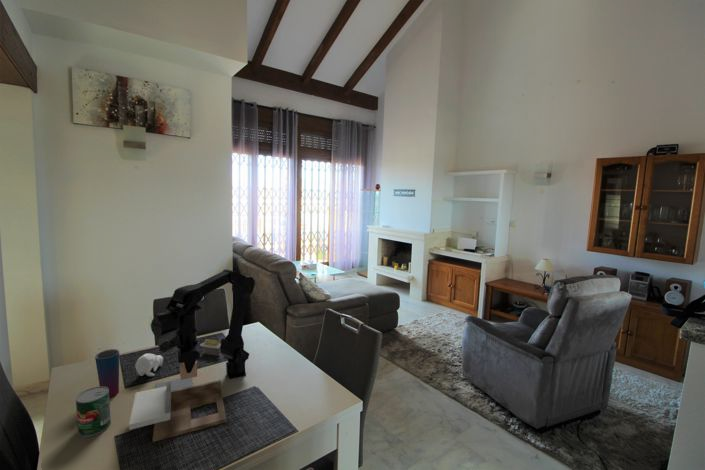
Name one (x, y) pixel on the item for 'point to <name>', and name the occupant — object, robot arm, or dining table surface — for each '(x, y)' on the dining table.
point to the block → (184, 373)
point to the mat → (176, 383)
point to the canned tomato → (93, 411)
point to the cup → (108, 370)
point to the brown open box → (182, 414)
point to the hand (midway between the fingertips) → (188, 368)
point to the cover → (151, 407)
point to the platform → (211, 347)
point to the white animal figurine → (148, 364)
